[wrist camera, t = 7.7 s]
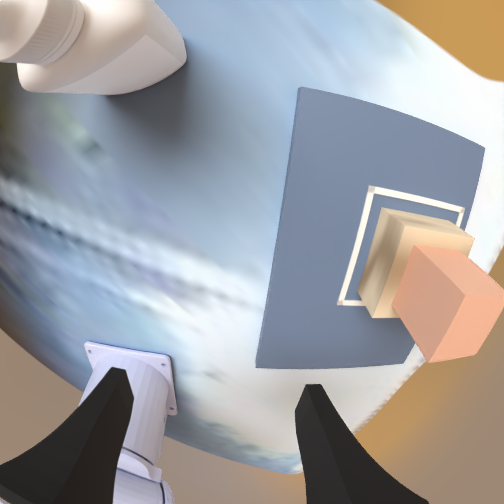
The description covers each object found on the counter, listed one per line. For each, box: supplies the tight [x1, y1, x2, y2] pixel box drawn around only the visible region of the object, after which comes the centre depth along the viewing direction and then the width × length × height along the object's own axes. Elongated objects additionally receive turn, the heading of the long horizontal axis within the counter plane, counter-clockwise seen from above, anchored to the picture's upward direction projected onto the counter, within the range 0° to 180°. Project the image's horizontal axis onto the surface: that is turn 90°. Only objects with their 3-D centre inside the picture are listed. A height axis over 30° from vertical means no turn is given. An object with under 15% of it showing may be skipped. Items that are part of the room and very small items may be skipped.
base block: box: [357, 207, 475, 318], centre depth 16 cm, size 6×6×3 cm
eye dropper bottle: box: [0, 0, 187, 95], centre depth 7 cm, size 4×6×12 cm
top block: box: [391, 245, 504, 363], centre depth 13 cm, size 4×4×5 cm
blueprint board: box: [256, 87, 485, 369], centre depth 18 cm, size 20×14×1 cm
